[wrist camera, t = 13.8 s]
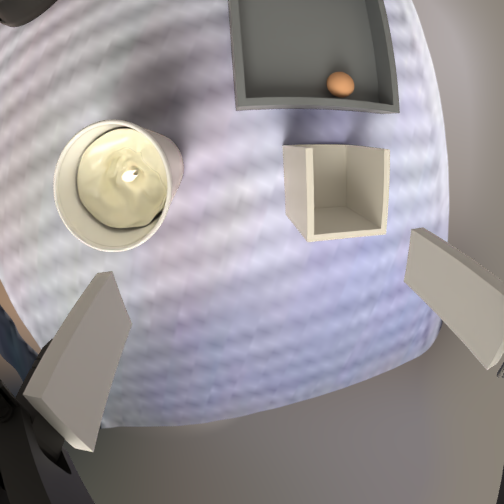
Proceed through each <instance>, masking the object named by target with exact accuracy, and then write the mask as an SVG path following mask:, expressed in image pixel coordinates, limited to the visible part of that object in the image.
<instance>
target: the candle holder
mask: <svg viewBox="0 0 504 504" xmlns="http://www.w3.org/2000/svg"><path fill="white" fill-rule="evenodd" d="M183 171H184V165H183V159H182V155H181V153H180V151H179V149H178V147H177V146H176V145H175V143H174V142H173V141H172V140H170V139H169V138H168V137H166V136H164V135H162V134H160V133H157V132H155V131H152V130H149V129H146V128H143V127H140V126H138V125H136V124H133V123H131V122H127V121H123V120H103V121H99V122H96V123H93V124H91V125H89V126H87V127H85V128H83V129H82V130H80V131H79V132H78V133H77V134H75V135H74V136H73V137H72V138H71V139H70V141H69V142H68V143H67V144H66V146H65V147H64V149H63V151H62V152H61V154H60V157H59V159H58V162H57V165H56V168H55V173H54V181H53V190H54V198H55V203H56V207H57V210H58V212H59V215H60V217H61V219H62V221H63V222H64V224H65V226H66V227H67V228H68V230H69V231H70V232H71V233H72V234H73V235H74V236H75V237H76V238H77V239H78V240H80V241H81V242H83V243H84V244H86V245H88V246H90V247H92V248H94V249H97V250H101V251H107V252H120V251H125V250H129V249H132V248H135V247H137V246H139V245H140V244H142V243H144V242H145V241H146V240H148V239H149V238H150V237H151V236H152V235H153V234H154V233H155V232H156V231H157V230H158V228H159V227H160V225H161V224H162V222H163V221H164V219H165V217H166V214H167V212H168V209H169V206H170V204H171V202H172V200H173V198H174V196H175V194H176V192H177V190H178V188H179V186H180V184H181V181H182V177H183Z"/></svg>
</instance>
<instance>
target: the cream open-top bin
mask: <svg viewBox="0 0 504 504" xmlns="http://www.w3.org/2000/svg"><path fill="white" fill-rule="evenodd" d="M282 147H283V165H284V186H285V211H286V216H287V217H288V218H289V219H290V221H291V222H292V223H293V224H294V226H295V227H296V228H297V229H298V231H299V232H300V233H301V235H302V236H303V237H304V238H305V240H306V241H307V242H313V241H323V240H333V239H343V238H353V237H363V236H373V235H383V234H386V226H387V214H388V199H389V175H390V150H388V149H381V148H373V147H365V146H356V145H339V144H309V145H282Z"/></svg>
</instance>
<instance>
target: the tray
mask: <svg viewBox="0 0 504 504" xmlns="http://www.w3.org/2000/svg"><path fill="white" fill-rule="evenodd" d="M228 7H229V22H230V36H231V50H232V64H233V78H234V91H235V105H236V111H242V110H260V109H327V110H345V111H358V112H368V113H377V114H391V113H400V111H399V96H398V84H397V75H396V66H395V59H394V52H393V46H392V40H391V34H390V29H389V24H388V19H387V14H386V10H385V6H384V2H383V0H228ZM334 72H344V73H346V74H348V75H349V76H350V77H351V78H352V79H353V82H354V90H353V92H352V93H351V94H350V95H349V96H347V97H343V98H341V97H336V96H334V95H333V94H331V93H330V91H329V90H328V88H327V79H328V77H329V76H330V75H331V74H332V73H334Z"/></svg>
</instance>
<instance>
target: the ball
mask: <svg viewBox="0 0 504 504" xmlns="http://www.w3.org/2000/svg"><path fill="white" fill-rule="evenodd" d="M327 88H328V90H329V91H330V93H331V94H333V95H334V96H336V97H341V98H343V97H347V96H349V95H350V94H351V93H352V92H353V90H354V82H353V79H352V78H351V77H350V76H349V75H348V74H346V73H344V72H334V73H332V74H331V75H330V76H329V77H328V79H327Z"/></svg>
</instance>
